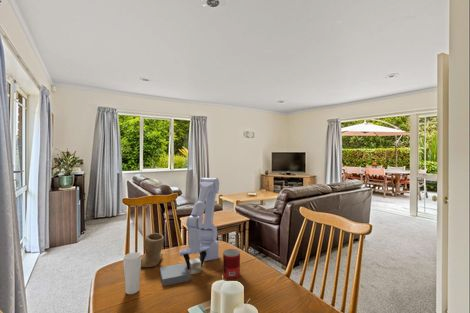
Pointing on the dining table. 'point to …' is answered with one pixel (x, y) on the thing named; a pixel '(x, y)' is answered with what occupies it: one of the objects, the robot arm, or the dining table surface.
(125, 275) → the drinking glass
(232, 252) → the canned food
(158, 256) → the stone cup
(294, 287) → the dining table surface
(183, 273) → the base
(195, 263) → the cube
